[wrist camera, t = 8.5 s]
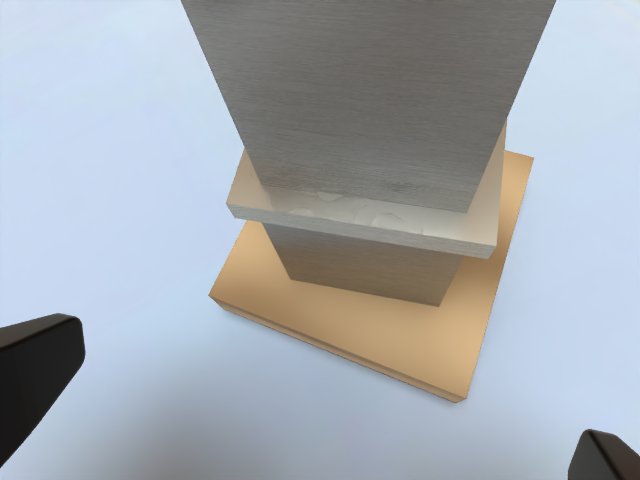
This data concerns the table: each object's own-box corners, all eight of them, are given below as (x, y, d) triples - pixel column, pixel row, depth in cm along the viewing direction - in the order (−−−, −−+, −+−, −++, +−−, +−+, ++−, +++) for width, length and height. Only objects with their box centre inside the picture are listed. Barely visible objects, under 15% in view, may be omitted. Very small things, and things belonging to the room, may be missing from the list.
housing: (449, 319, 16) (655, -3, 4) (277, 287, 17) (77, -38, 6) (467, 168, 19) (632, -307, 7) (315, 149, 20) (230, -286, 8)
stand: (456, 402, 17) (466, 398, 15) (223, 308, 19) (208, 295, 18) (519, 183, 20) (534, 157, 18) (314, 126, 23) (309, 98, 21)
